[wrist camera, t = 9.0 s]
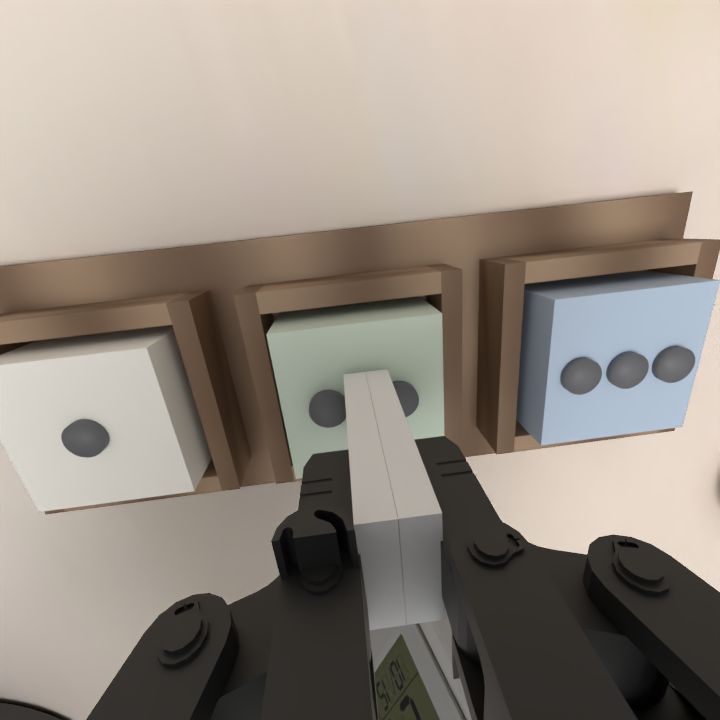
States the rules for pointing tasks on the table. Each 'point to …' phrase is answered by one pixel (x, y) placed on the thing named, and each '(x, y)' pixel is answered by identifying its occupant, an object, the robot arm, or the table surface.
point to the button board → (347, 287)
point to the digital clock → (417, 673)
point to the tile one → (101, 418)
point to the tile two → (355, 368)
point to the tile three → (610, 353)
